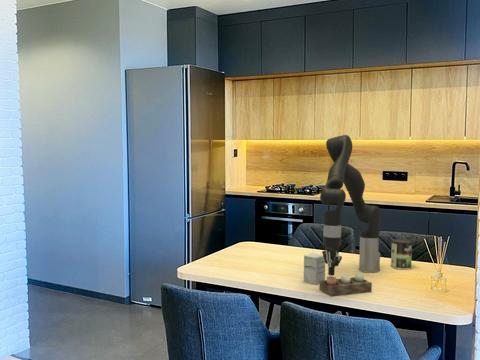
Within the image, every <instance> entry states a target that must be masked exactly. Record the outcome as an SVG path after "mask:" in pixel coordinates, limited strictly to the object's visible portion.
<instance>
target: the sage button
mask: <svg viewBox="0 0 480 360" xmlns="http://www.w3.org/2000/svg"><path fill="white" fill-rule="evenodd" d="M354 277H355V281H356V282H364V280H365V274H364V273H354Z"/></svg>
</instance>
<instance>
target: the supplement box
mask: <svg viewBox="0 0 480 360" xmlns="http://www.w3.org/2000/svg"><path fill="white" fill-rule="evenodd" d="M323 280H326V263H325V260H324V257H323V254H320V253H314V252H311V253H307V254H304V255H303V282H304V283H309V284H313V285H319V281H323Z"/></svg>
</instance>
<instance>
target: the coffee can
mask: <svg viewBox="0 0 480 360" xmlns="http://www.w3.org/2000/svg"><path fill="white" fill-rule="evenodd" d="M390 241H391V250H390V251H391V253H390V254H391V256H390V267H391V268H392V269H396V270H403V271H404V270H405V271H406V270H407V271H408V270H411V269H412V254H413V253H412V251H413V250H412V249H413V241H412V240H410V239H403V238H393V239H391V240H390Z"/></svg>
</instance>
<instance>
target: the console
mask: <svg viewBox="0 0 480 360" xmlns="http://www.w3.org/2000/svg"><path fill="white" fill-rule="evenodd" d="M318 285H319V288H318V290H319V291H320V292H322V293H324V294H326V295H328V296H329V297H340V296H347V295H348V296H349V295H356V294H366V292H367V293H372V289H373V284H372V282H371V281H369V280H367V279H364V282H356V281H355V276H353V277H350V283H348V284H343V283H341V278H336V285H330V286H329V285H327V279H325V280H323V281H319V284H318Z"/></svg>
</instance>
